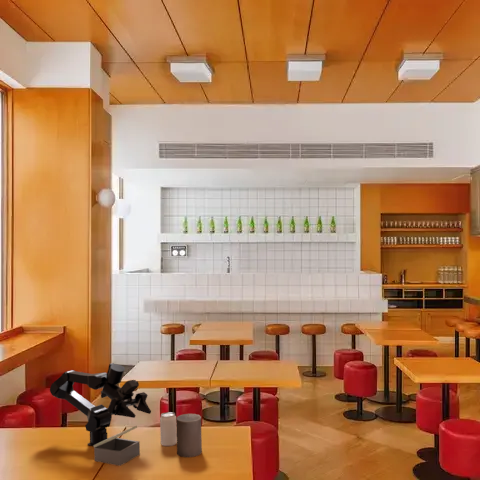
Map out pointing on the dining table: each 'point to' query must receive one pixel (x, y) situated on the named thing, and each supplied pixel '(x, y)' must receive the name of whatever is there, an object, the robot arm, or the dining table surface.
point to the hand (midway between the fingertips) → (142, 414)
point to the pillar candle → (189, 435)
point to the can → (168, 429)
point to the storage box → (117, 451)
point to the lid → (114, 436)
